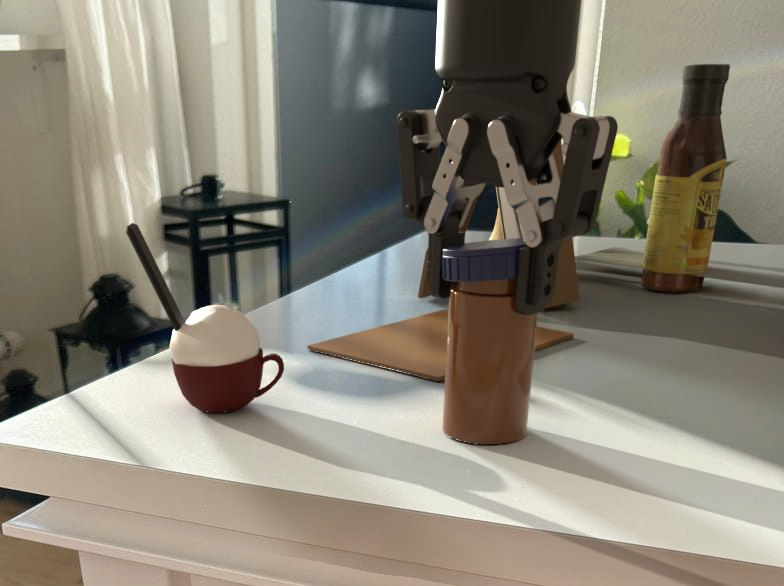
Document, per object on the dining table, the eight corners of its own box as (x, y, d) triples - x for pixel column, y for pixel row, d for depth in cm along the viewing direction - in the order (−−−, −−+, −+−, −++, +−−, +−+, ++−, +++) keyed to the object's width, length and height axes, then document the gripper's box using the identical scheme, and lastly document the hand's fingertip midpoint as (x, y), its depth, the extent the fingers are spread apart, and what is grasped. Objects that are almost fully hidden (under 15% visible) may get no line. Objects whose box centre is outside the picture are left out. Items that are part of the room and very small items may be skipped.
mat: (444, 313, 96) (444, 309, 95) (573, 338, 87) (574, 333, 87) (307, 350, 85) (307, 345, 85) (438, 382, 76) (438, 377, 76)
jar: (438, 418, 69) (447, 254, 63) (519, 418, 69) (534, 253, 63) (446, 445, 64) (456, 270, 59) (533, 445, 64) (550, 269, 59)
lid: (561, 271, 59) (561, 239, 59) (465, 284, 58) (465, 252, 57) (516, 266, 65) (516, 236, 64) (428, 277, 63) (427, 247, 63)
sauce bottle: (695, 297, 100) (734, 64, 90) (631, 291, 103) (663, 64, 93) (710, 285, 105) (750, 62, 95) (649, 279, 108) (681, 63, 98)
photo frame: (545, 267, 114) (571, 4, 102) (578, 311, 95) (614, -5, 83) (412, 268, 115) (421, 8, 103) (419, 311, 96) (431, -1, 84)
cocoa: (295, 402, 72) (291, 221, 66) (246, 428, 68) (237, 235, 62) (186, 385, 77) (173, 213, 71) (134, 407, 72) (115, 226, 66)
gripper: (363, -19, 56) (359, 297, 65) (585, -37, 47) (547, 335, 55) (452, -16, 61) (438, 280, 69) (672, -31, 51) (624, 312, 60)
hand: (487, 303), depth 62 cm, fingers closed on lid, 6 cm apart
